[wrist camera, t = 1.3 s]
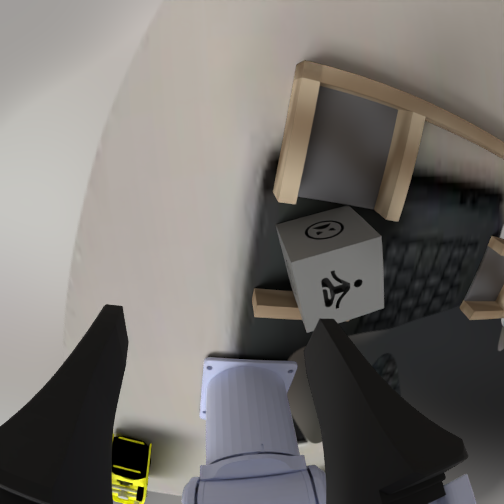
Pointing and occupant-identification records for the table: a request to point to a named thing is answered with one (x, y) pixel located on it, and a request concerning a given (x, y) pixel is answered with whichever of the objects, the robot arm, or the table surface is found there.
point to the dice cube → (333, 265)
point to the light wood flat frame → (367, 164)
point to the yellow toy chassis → (130, 470)
